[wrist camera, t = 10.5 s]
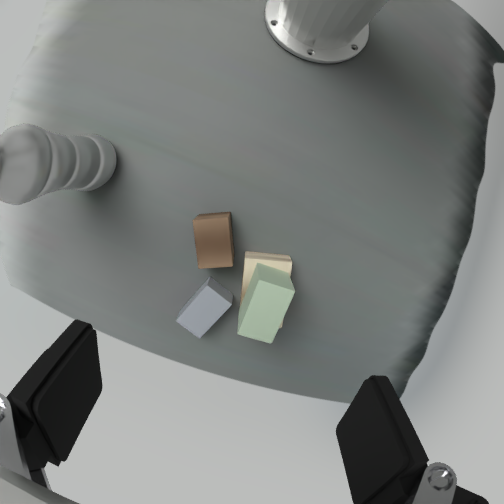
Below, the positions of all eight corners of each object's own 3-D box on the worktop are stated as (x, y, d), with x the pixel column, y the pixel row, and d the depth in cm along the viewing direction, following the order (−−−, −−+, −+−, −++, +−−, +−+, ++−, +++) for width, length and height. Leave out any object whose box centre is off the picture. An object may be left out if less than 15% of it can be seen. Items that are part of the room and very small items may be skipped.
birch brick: (245, 250, 34) (245, 258, 31) (288, 254, 34) (292, 262, 31) (239, 312, 36) (238, 324, 33) (279, 315, 36) (281, 328, 33)
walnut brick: (199, 214, 32) (192, 220, 28) (230, 211, 32) (228, 217, 28) (204, 257, 34) (198, 268, 30) (234, 255, 34) (232, 266, 30)
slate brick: (210, 275, 34) (207, 285, 31) (233, 293, 35) (232, 304, 32) (180, 309, 35) (175, 320, 33) (202, 326, 36) (199, 338, 33)
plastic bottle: (72, 147, 29) (-55, 146, 10) (117, 127, 29) (-7, 99, 10) (82, 196, 31) (-44, 230, 12) (128, 179, 31) (3, 199, 12)
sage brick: (257, 262, 31) (259, 279, 26) (288, 272, 31) (295, 291, 26) (238, 310, 32) (237, 334, 28) (268, 319, 33) (271, 343, 28)
